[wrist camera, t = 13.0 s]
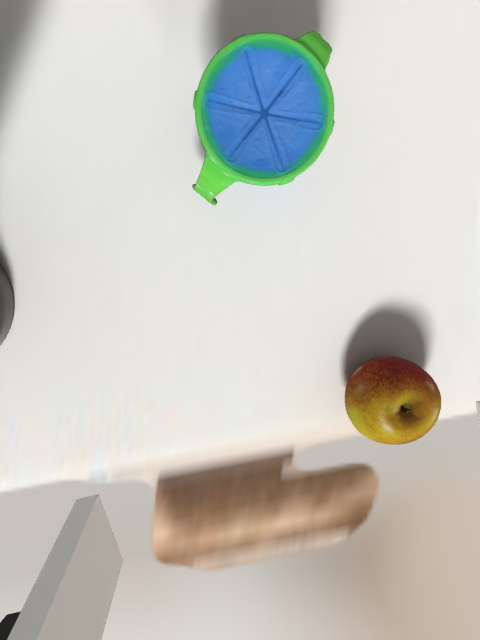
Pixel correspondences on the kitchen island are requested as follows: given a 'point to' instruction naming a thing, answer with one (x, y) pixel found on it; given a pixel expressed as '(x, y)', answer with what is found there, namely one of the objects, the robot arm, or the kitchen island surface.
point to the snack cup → (263, 111)
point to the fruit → (392, 400)
